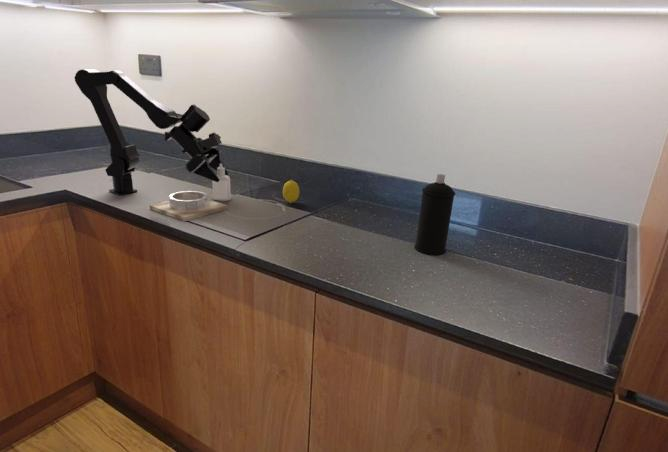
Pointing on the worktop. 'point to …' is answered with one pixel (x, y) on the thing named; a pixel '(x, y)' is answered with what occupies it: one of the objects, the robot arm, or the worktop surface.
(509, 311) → the worktop surface
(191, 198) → the collar
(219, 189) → the eye dropper bottle
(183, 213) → the base plate
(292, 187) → the lemon
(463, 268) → the worktop surface
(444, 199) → the aerosol can
